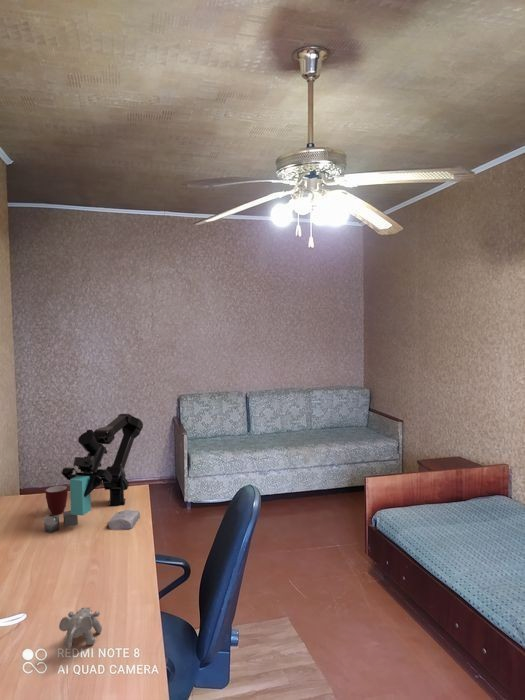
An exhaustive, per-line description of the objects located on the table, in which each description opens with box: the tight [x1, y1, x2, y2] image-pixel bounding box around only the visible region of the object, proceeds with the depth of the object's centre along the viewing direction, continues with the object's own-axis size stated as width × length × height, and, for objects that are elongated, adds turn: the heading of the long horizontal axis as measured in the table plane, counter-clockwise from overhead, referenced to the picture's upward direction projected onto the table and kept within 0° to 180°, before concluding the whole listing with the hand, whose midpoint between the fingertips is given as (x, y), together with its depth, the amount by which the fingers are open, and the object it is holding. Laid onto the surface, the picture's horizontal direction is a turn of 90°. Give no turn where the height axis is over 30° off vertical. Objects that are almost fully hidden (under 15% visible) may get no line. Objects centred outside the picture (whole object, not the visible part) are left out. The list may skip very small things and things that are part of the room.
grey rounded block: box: [43, 513, 60, 534], centre depth 182 cm, size 5×5×5 cm
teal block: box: [69, 475, 92, 516], centre depth 183 cm, size 5×5×13 cm
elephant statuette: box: [58, 606, 103, 650], centre depth 116 cm, size 9×12×8 cm
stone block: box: [108, 509, 141, 531], centre depth 187 cm, size 12×5×10 cm
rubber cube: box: [62, 509, 79, 528], centre depth 188 cm, size 4×4×4 cm
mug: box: [45, 485, 68, 516], centre depth 199 cm, size 10×8×10 cm
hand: (78, 495), depth 182 cm, fingers closed on teal block, 5 cm apart
